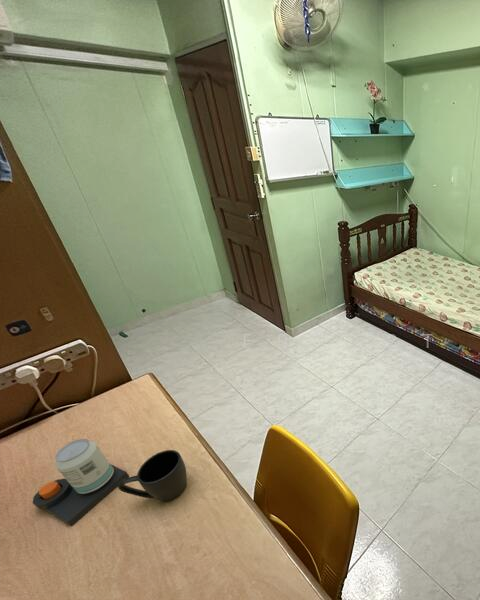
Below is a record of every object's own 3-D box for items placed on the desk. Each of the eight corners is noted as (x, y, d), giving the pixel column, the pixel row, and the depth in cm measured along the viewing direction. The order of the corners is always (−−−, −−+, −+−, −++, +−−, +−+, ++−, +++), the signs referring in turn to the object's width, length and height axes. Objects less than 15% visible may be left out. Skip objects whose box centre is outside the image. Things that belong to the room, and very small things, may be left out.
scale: (35, 507, 71) (26, 499, 70) (97, 460, 82) (90, 451, 80) (69, 528, 68) (61, 520, 66) (129, 476, 78) (123, 467, 76)
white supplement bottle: (117, 462, 79) (95, 431, 73) (113, 486, 74) (89, 454, 68) (81, 476, 76) (56, 444, 70) (74, 502, 71) (46, 470, 65)
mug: (137, 488, 76) (121, 464, 71) (194, 468, 80) (182, 444, 76) (128, 522, 69) (110, 497, 65) (191, 498, 74) (177, 474, 69)
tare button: (39, 496, 71) (35, 491, 70) (56, 483, 73) (52, 479, 72) (47, 501, 70) (43, 496, 69) (64, 488, 72) (60, 483, 71)
